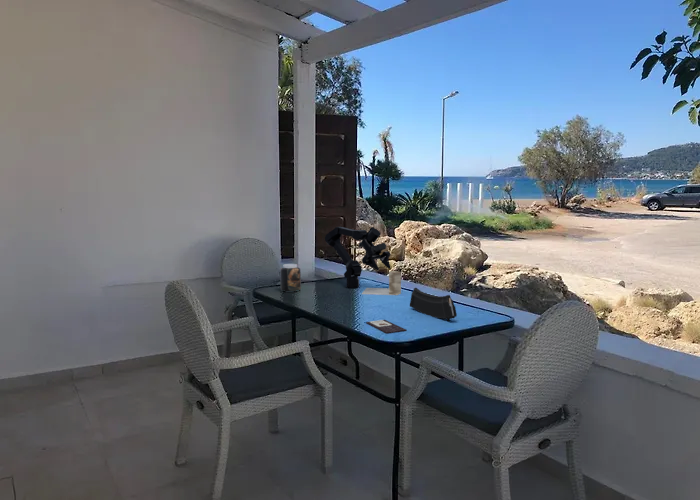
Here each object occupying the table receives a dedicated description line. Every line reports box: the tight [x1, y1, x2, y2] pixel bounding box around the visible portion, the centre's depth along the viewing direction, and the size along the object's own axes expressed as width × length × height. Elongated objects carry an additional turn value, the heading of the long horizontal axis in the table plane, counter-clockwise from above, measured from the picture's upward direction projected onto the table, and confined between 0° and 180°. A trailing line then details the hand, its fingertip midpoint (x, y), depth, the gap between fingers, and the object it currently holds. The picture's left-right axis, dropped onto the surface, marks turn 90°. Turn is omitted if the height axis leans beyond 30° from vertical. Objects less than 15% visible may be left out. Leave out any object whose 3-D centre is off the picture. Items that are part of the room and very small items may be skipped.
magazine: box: [409, 287, 458, 322], centre depth 220 cm, size 17×3×30 cm
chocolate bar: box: [365, 319, 407, 335], centre depth 200 cm, size 9×1×18 cm
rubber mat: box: [361, 287, 400, 296], centre depth 273 cm, size 20×19×1 cm
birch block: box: [388, 270, 402, 296], centre depth 265 cm, size 4×4×12 cm
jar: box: [279, 263, 302, 291], centre depth 280 cm, size 12×12×15 cm
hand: (384, 269), depth 270 cm, fingers open, 9 cm apart
